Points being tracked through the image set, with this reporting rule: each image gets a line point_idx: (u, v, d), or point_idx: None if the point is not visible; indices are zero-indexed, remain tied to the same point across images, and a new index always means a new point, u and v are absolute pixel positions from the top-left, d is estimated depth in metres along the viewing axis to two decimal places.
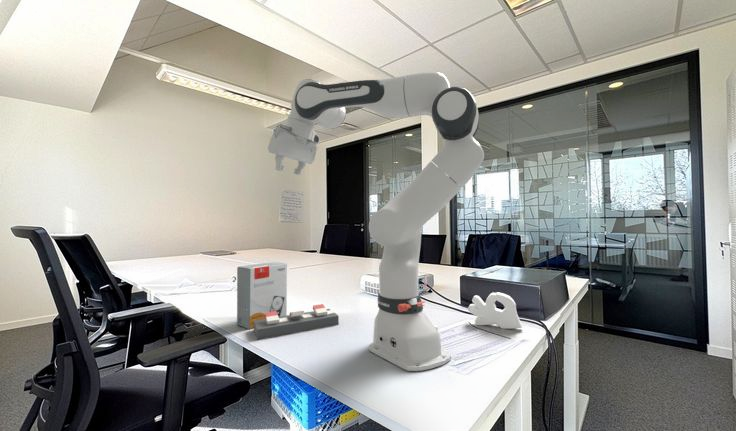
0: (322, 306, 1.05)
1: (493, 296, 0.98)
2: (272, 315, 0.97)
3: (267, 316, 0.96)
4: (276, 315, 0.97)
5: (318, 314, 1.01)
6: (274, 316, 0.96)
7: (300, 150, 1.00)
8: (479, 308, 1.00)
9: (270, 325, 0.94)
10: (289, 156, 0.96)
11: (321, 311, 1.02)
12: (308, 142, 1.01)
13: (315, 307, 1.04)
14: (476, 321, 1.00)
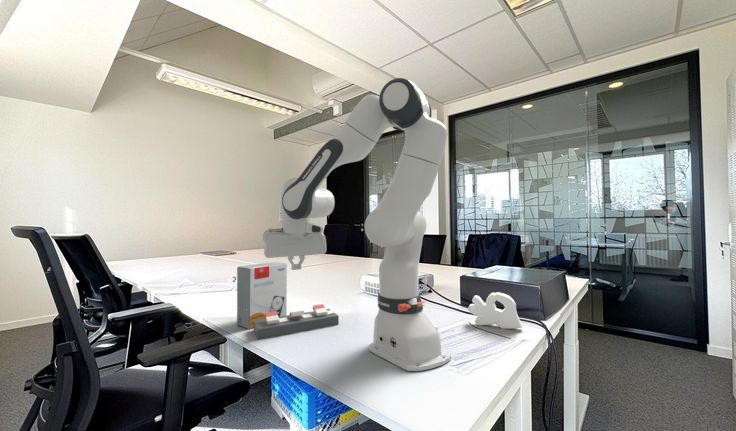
0: (322, 306, 1.05)
1: (493, 296, 0.98)
2: (272, 315, 0.97)
3: (267, 316, 0.96)
4: (276, 315, 0.97)
5: (318, 314, 1.01)
6: (274, 316, 0.96)
7: (301, 245, 1.00)
8: (479, 308, 1.00)
9: (270, 325, 0.94)
10: (287, 255, 0.97)
11: (321, 311, 1.02)
12: (307, 235, 1.00)
13: (315, 307, 1.04)
14: (476, 321, 1.00)
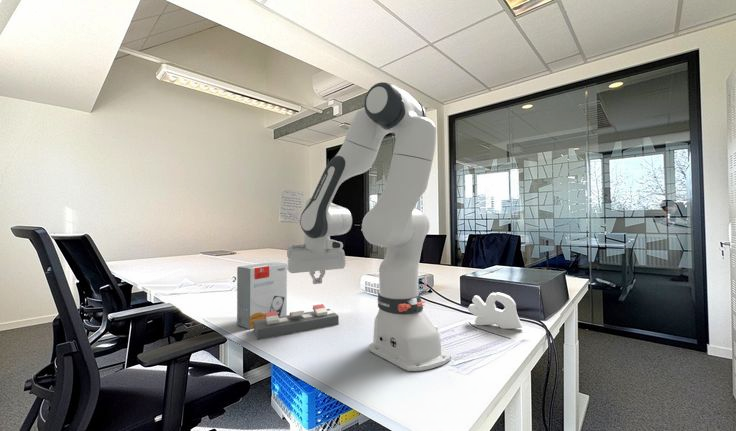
0: (322, 306, 1.05)
1: (493, 296, 0.98)
2: (272, 315, 0.97)
3: (267, 316, 0.96)
4: (276, 315, 0.97)
5: (318, 314, 1.01)
6: (274, 316, 0.96)
7: (322, 260, 1.05)
8: (479, 308, 1.00)
9: (270, 325, 0.94)
10: (309, 270, 1.02)
11: (321, 311, 1.02)
12: (328, 250, 1.05)
13: (315, 307, 1.04)
14: (476, 321, 1.00)
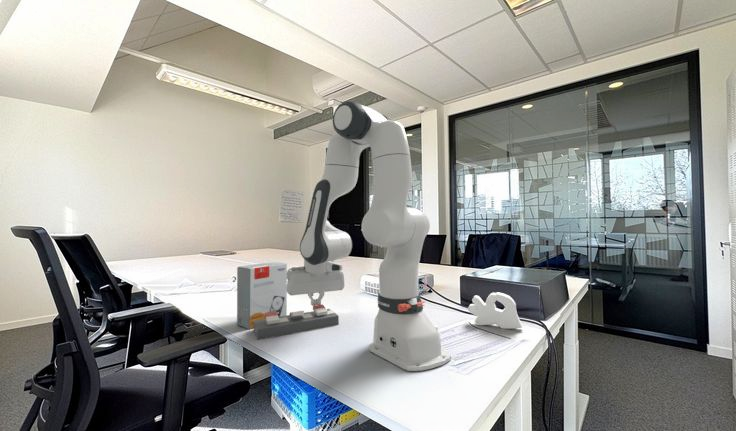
0: (322, 306, 1.05)
1: (493, 296, 0.98)
2: (272, 315, 0.97)
3: (267, 316, 0.96)
4: (276, 315, 0.97)
5: (318, 314, 1.01)
6: (274, 316, 0.96)
7: (321, 283, 1.05)
8: (479, 308, 1.00)
9: (270, 325, 0.94)
10: (308, 292, 1.03)
11: (321, 311, 1.02)
12: (327, 273, 1.06)
13: (315, 307, 1.04)
14: (476, 321, 1.00)
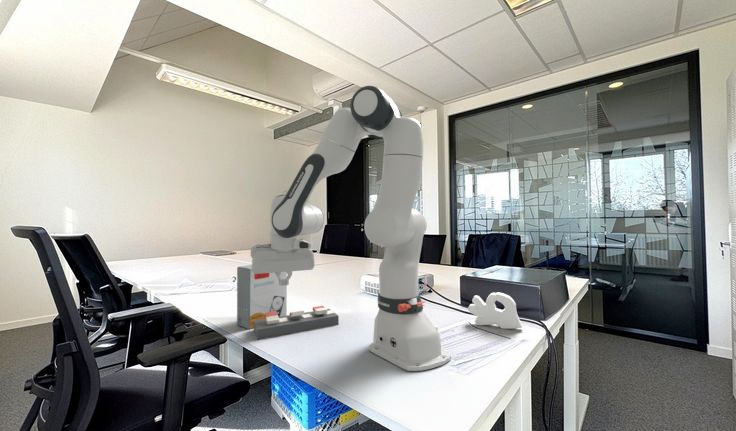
0: (322, 306, 1.06)
1: (493, 296, 0.98)
2: (272, 315, 0.97)
3: (267, 316, 0.96)
4: (276, 315, 0.97)
5: (318, 312, 1.01)
6: (274, 316, 0.96)
7: (288, 261, 1.00)
8: (479, 308, 1.00)
9: (270, 325, 0.94)
10: (274, 271, 0.98)
11: (321, 309, 1.02)
12: (295, 251, 1.00)
13: (315, 308, 1.04)
14: (476, 321, 1.00)
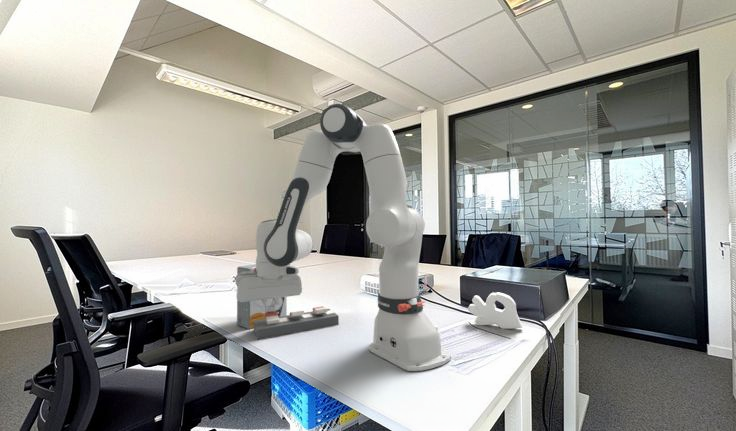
0: (322, 307, 1.06)
1: (493, 296, 0.98)
2: (272, 315, 0.97)
3: (267, 316, 0.96)
4: (276, 315, 0.97)
5: (318, 311, 1.01)
6: (274, 316, 0.96)
7: (275, 287, 0.97)
8: (479, 308, 1.00)
9: (270, 325, 0.94)
10: (260, 299, 0.95)
11: (321, 309, 1.02)
12: (281, 277, 0.98)
13: (315, 308, 1.05)
14: (476, 321, 1.00)
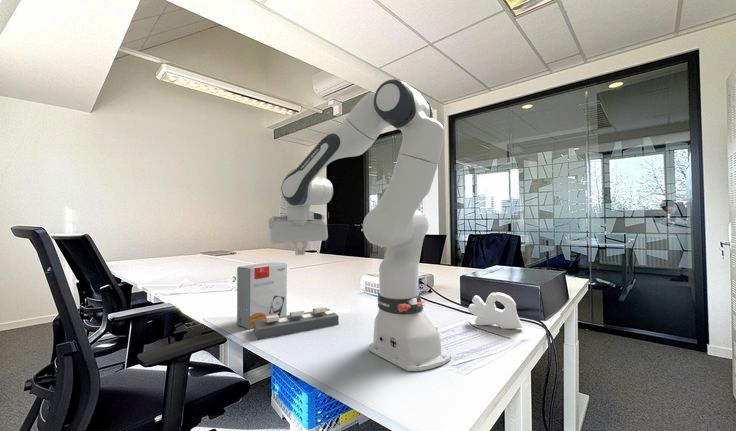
0: (322, 307, 1.06)
1: (493, 296, 0.98)
2: (272, 315, 0.97)
3: (267, 316, 0.96)
4: (276, 315, 0.97)
5: (318, 310, 1.01)
6: (274, 315, 0.97)
7: (304, 232, 1.06)
8: (479, 308, 1.00)
9: (270, 325, 0.94)
10: (291, 241, 1.04)
11: (320, 308, 1.03)
12: (310, 222, 1.07)
13: (315, 308, 1.05)
14: (476, 321, 1.00)
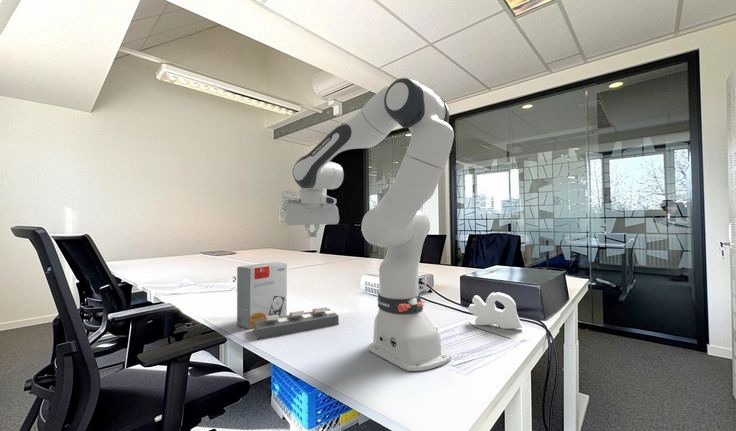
0: None
1: (493, 296, 0.98)
2: (272, 315, 0.97)
3: (267, 316, 0.96)
4: None
5: (318, 310, 1.01)
6: (274, 315, 0.97)
7: (316, 215, 1.10)
8: (479, 308, 1.00)
9: (270, 325, 0.94)
10: (304, 223, 1.08)
11: (320, 308, 1.03)
12: (322, 206, 1.11)
13: None
14: (476, 321, 1.00)
